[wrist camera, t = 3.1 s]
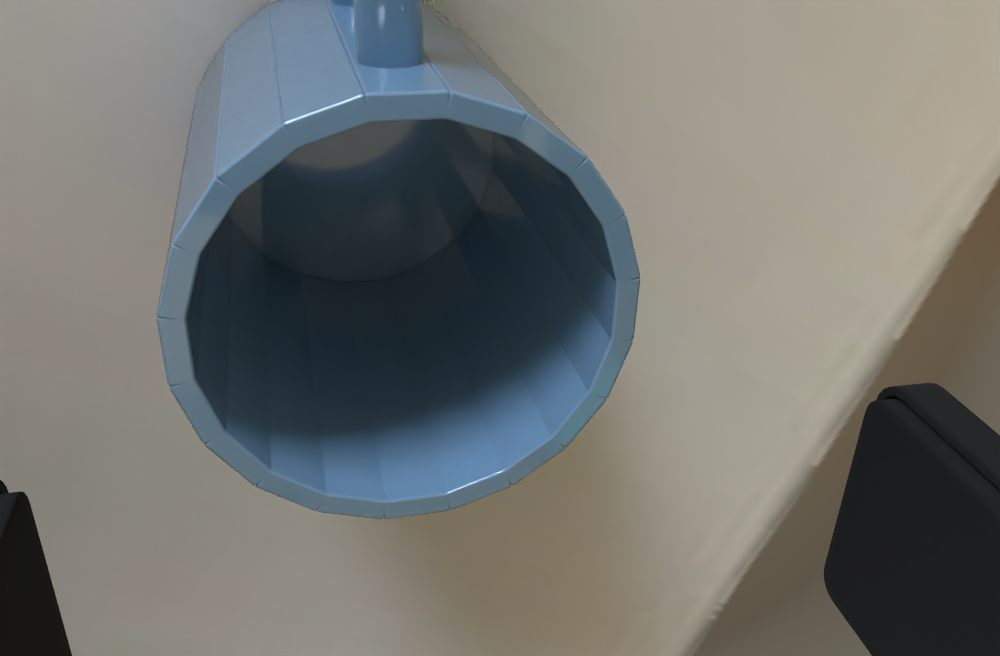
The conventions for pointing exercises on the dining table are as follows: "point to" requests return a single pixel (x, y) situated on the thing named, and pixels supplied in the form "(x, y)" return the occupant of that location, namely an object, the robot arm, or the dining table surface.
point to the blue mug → (386, 265)
